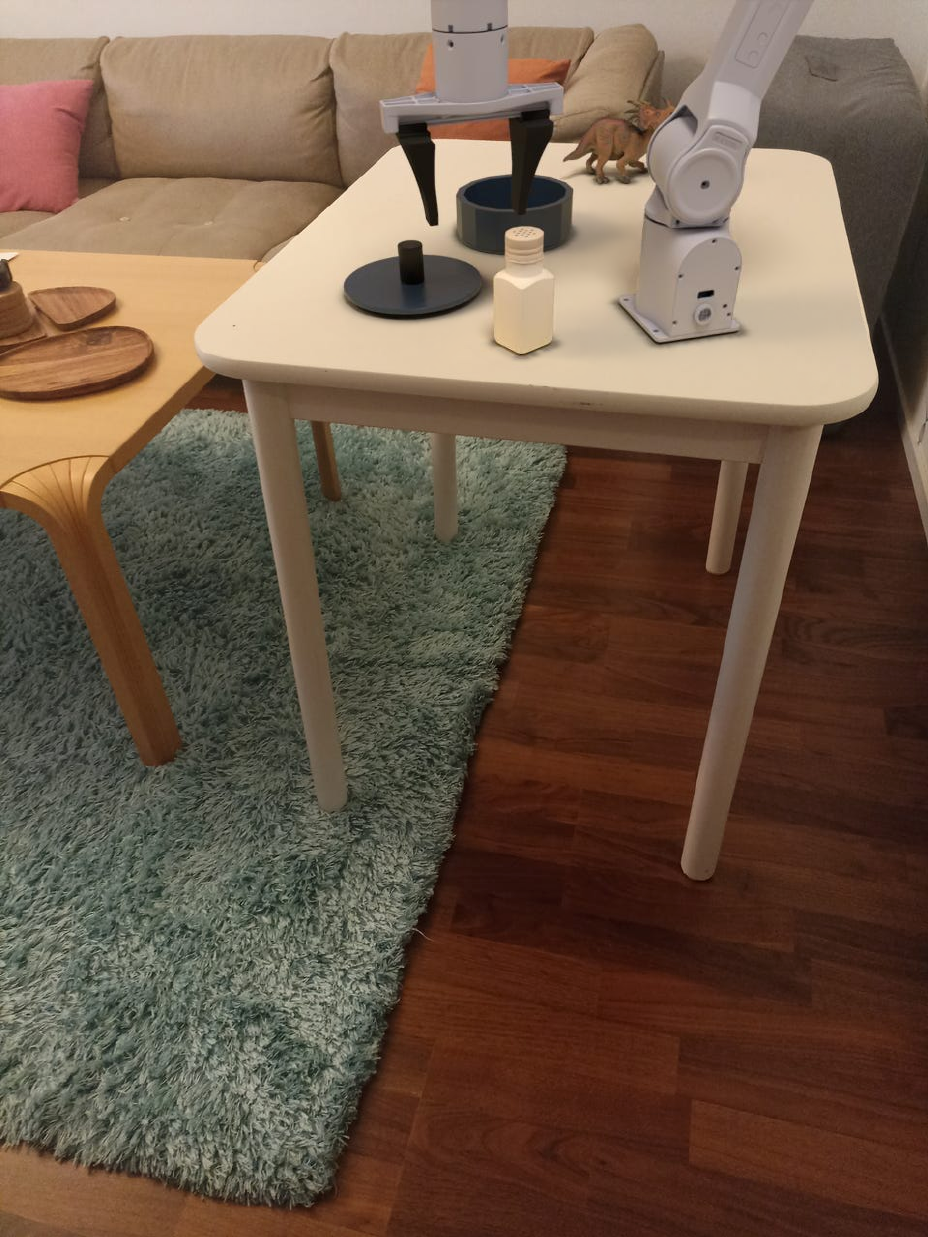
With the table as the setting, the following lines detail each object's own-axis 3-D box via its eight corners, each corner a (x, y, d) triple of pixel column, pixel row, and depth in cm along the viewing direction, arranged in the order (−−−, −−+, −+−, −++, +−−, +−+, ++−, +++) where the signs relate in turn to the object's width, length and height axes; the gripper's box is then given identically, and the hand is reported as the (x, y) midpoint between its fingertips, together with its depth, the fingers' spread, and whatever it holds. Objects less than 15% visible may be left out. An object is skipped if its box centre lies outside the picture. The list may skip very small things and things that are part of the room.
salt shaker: (525, 329, 78) (526, 220, 72) (555, 343, 76) (559, 232, 69) (491, 342, 76) (489, 232, 70) (521, 358, 74) (521, 245, 68)
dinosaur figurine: (669, 169, 111) (679, 87, 104) (671, 184, 107) (682, 99, 100) (563, 169, 112) (567, 88, 106) (561, 183, 108) (564, 100, 102)
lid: (497, 309, 82) (497, 260, 78) (356, 329, 80) (349, 279, 76) (463, 257, 91) (461, 212, 88) (336, 274, 89) (330, 228, 86)
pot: (586, 246, 93) (589, 202, 90) (474, 260, 91) (473, 217, 88) (550, 209, 102) (551, 168, 99) (447, 221, 100) (445, 181, 97)
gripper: (546, 9, 68) (542, 192, 77) (366, 26, 66) (384, 211, 75) (575, 24, 63) (567, 217, 72) (381, 42, 61) (399, 239, 70)
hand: (475, 216), depth 73 cm, fingers open, 7 cm apart
